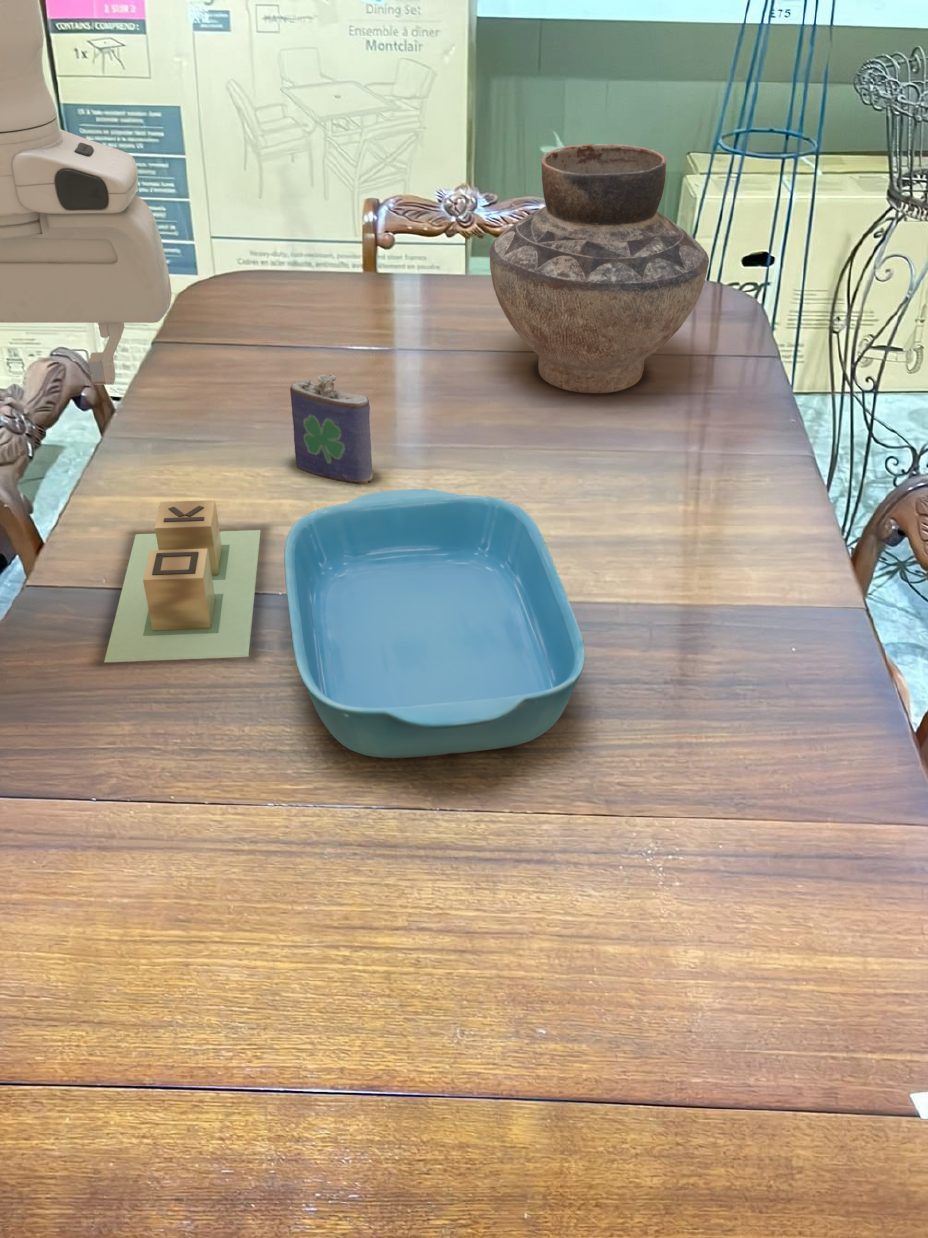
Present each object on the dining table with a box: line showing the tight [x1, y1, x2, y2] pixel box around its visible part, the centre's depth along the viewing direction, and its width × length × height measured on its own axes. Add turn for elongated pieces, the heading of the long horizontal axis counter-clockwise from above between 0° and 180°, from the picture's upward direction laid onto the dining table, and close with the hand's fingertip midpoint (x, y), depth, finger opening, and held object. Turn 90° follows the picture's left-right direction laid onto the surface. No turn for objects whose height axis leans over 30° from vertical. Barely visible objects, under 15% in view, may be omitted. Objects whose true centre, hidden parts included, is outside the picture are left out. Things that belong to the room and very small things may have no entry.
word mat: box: [103, 529, 262, 664], centre depth 113 cm, size 12×22×1 cm, turn 4°
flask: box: [289, 373, 374, 485], centre depth 128 cm, size 9×3×11 cm, turn 61°
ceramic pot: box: [488, 143, 710, 394], centre depth 144 cm, size 25×25×24 cm
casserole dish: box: [283, 488, 586, 759], centre depth 103 cm, size 37×22×7 cm, turn 9°
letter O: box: [143, 549, 215, 631], centre depth 108 cm, size 5×5×5 cm
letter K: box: [154, 499, 222, 575], centre depth 115 cm, size 5×5×5 cm
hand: (36, 382), depth 89 cm, fingers open, 8 cm apart
